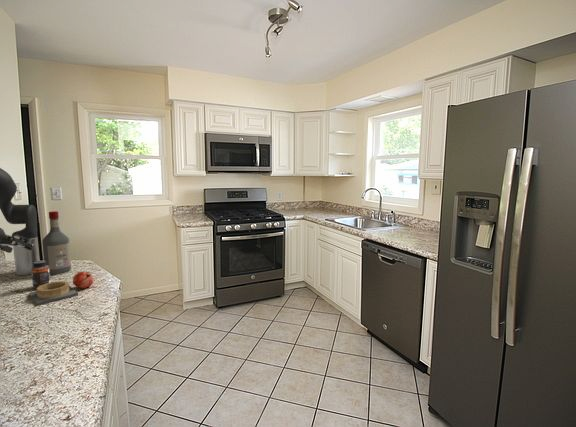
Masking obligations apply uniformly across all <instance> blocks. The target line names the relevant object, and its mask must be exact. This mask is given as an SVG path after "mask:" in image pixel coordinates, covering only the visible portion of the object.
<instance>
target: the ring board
mask: <svg viewBox="0 0 576 427" xmlns="http://www.w3.org/2000/svg"><path fill="white" fill-rule="evenodd" d="M28 294H29V297H30V298H31V299H32V301H33V302H34V303H35V305H37V306H38V307H39V306H42V305H46V304H50V303H53V302H57V301H62V300H65V299H69V298H73V297H78V296H79V292H78V291H77V290H75V289H74V288H73V287H71V285H70V283H69V282H68V281H62V280H61V281H59V280H58V281H51V283H46V284H43V285H41V286H39V287H38V288H37V289H36V291H32V292H29V293H28Z"/></svg>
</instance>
